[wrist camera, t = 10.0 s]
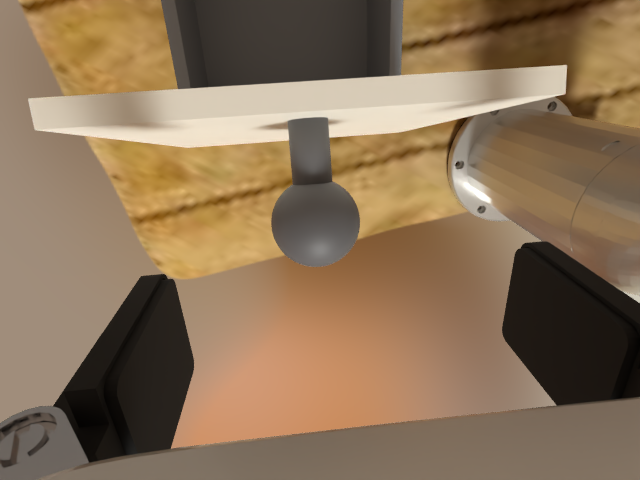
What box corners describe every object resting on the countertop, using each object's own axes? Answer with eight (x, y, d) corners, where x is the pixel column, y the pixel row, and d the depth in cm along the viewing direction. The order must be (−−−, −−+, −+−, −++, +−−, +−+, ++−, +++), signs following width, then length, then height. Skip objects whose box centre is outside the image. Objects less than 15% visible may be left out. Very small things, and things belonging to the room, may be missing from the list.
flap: (567, 64, 11) (556, 263, 13) (399, 120, 28) (402, 204, 29) (27, 98, 10) (74, 311, 12) (186, 135, 27) (198, 221, 28)
